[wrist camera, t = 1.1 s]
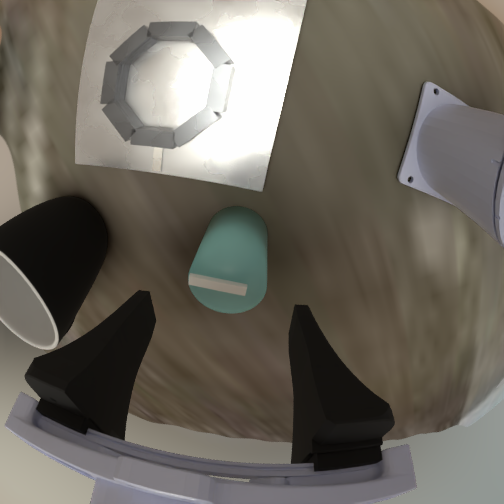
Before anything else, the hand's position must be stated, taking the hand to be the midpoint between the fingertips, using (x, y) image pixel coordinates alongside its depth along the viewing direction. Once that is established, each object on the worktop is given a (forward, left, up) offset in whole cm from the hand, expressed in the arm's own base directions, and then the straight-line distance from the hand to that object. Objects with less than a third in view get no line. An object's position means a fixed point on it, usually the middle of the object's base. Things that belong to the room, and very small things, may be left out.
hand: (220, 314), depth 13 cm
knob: (0, 0, -8) cm, 8 cm away
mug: (+14, +4, -9) cm, 17 cm away
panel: (+6, -11, -8) cm, 15 cm away
